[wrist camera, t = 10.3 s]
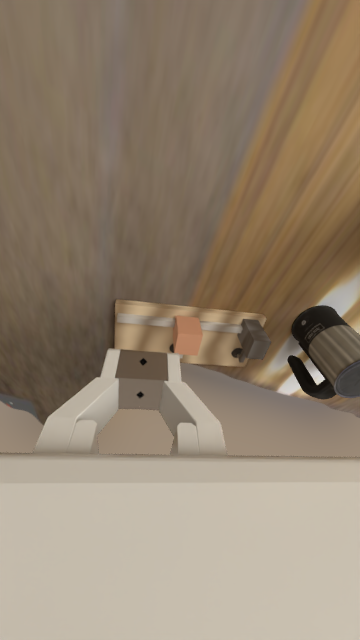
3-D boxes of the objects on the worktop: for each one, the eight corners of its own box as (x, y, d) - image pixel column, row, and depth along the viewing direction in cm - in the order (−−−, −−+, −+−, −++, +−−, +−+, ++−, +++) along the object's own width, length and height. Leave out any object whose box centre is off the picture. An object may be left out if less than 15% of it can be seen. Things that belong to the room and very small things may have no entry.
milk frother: (305, 300, 46) (357, 354, 34) (374, 311, 49) (445, 365, 37) (274, 355, 54) (307, 414, 42) (335, 362, 57) (383, 419, 45)
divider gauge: (263, 314, 47) (280, 340, 41) (243, 362, 54) (254, 391, 48) (116, 299, 43) (108, 325, 36) (115, 353, 50) (109, 383, 44)
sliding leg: (197, 314, 44) (202, 335, 39) (188, 351, 49) (192, 374, 44) (176, 312, 43) (178, 333, 38) (169, 350, 48) (170, 373, 43)
